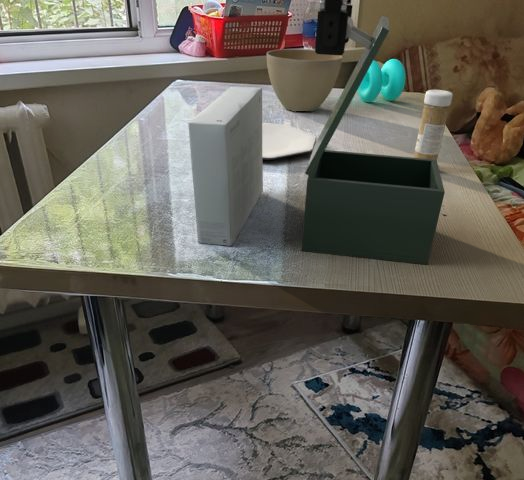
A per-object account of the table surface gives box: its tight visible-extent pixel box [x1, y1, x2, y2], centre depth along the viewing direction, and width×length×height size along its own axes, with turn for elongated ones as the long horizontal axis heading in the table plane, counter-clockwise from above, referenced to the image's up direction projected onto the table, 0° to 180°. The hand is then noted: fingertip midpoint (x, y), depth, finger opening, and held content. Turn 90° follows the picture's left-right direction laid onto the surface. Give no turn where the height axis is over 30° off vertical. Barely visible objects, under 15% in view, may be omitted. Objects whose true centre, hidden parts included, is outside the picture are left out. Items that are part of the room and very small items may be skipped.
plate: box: [262, 122, 317, 161], centre depth 111 cm, size 24×24×2 cm
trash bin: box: [301, 149, 446, 266], centre depth 74 cm, size 17×13×10 cm
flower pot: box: [266, 48, 343, 112], centre depth 134 cm, size 18×18×12 cm
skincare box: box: [187, 86, 264, 247], centre depth 77 cm, size 21×5×16 cm, turn 168°
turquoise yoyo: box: [356, 58, 406, 103], centre depth 144 cm, size 10×10×10 cm
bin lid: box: [304, 15, 390, 177], centre depth 67 cm, size 17×13×5 cm
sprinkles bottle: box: [413, 89, 454, 161], centre depth 98 cm, size 5×5×13 cm
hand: (332, 47), depth 64 cm, fingers open, 9 cm apart
